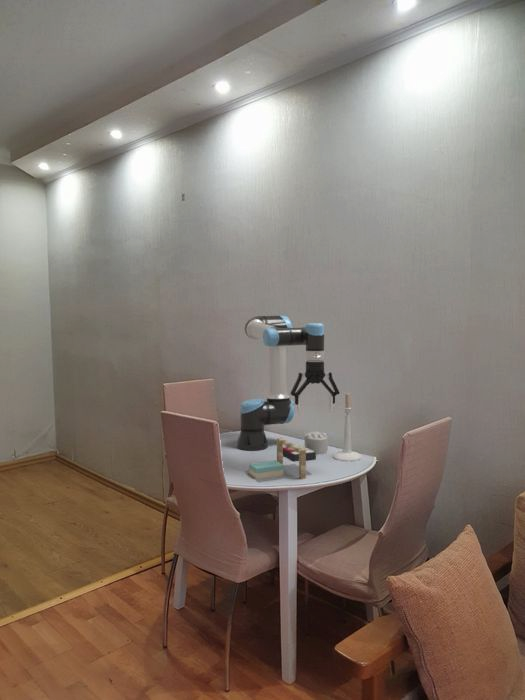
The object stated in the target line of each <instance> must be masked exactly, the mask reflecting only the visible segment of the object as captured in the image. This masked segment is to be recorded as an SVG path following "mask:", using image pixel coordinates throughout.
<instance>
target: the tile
mask: <svg viewBox="0 0 525 700" xmlns="http://www.w3.org/2000/svg"><path fill="white" fill-rule="evenodd" d="M283 465H284V463H283V464H281V463H279V462H278V461H277V460H272V461H262V462H256V463H250V464H249V470H250V474H251V475H252V476H254V477H255V478H256V479H258V478H264V477H271V476H278V475H284V466H283Z"/></svg>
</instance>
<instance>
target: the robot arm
mask: <svg viewBox="0 0 525 700" xmlns="http://www.w3.org/2000/svg"><path fill="white" fill-rule="evenodd" d="M244 333H245V335H246V336H247V337H248V338H249V339H252V340H261V341H262V342H263V344H264V346H266V347H268V373H269V374H268V375H269V376H268V380H269V385H268V386H269V394H268V395H267V397H266V401H265V400H264V399H263V398H251V399H246V400H243V401H242V402H241V404H240V411H239V414H240V433H239V437H238V439H237V442H236V444H237V449H239V450H241V451H242V450H243V451H261V450H265V449H267V448H268V446H269V443H268V442H269V441H268V438H267V437H266V433H265V426H270V425H271V426H272V425H283V424H289V423H291V422H292V421H293V419H294V415H295V405H296V406H297V407H296V408H297V409H296V412H297V413H298V414H300V413H301V396H300V395H301V394H302V392H303V391H304V390H305V389H306V388H307V386H309V385H310V384H312V385H313V384H320V383H321V384H322V386H324V388H325V390H327V391H328V392H329V396H328V397H329V403H328V405H329V412H330V413H333V412H334V407H333V405H334V404H335V403H336V396H337V395H340V390H339V388H338V386H337V385H336V382H335V381H334V379H333V373H332V372H331V371H328V372H325V362H324V360H325V326H324V324H323V323H318V322H317V323H315V322H314V323H313V322H311V323H306V324H305V326H303V327H302V326H301V327H293V325H292V322H291V319H290V318H289V317H288V316H286V315H258V316H253V317H251V318H249V319H248V320H247V321H246V323H245V325H244ZM286 346H305V360H306V362H305V372H304V373H303V372H298V373H297V379H296V380H295V383H294V385H293V386H292V389H291V390H290V392H289V393H290V395H291V396H293V397H294V401H293V400H292V399H291V397H290V395H289V394H288V393H287V389H288V388H287V350H286V349H287V348H286ZM304 377H305V381H304V382H303V383H302V385H301V386H300V383H301V381H302V379H303V378H304ZM325 377H326V378H327V379H328V381H329V382H330V385H331V387H332V388H331V387H330V386H329V385H328V383H326V381H325V380H324V378H325ZM299 386H300V387H299ZM298 387H299V388H298ZM297 389H298V390H297ZM294 404H295V405H294Z"/></svg>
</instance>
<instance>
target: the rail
mask: <svg viewBox="0 0 525 700" xmlns="http://www.w3.org/2000/svg"><path fill="white" fill-rule="evenodd" d="M283 446H284V447H288V448H290V449H292V450H294V451H296V452H297V453H299V461H298V466H299V476H298V478H299V479H300V480H304V479H306V478H307V475H306V471H307V463H306V462H307V461H306V450H304V449H302V448H300V447H298V446H299V445H296V444H294V443H292V442H290V441H287V440H286V439H283V438H282V437H277V438H276V461H278V462H279V463H281V464H283V465H284V456H283Z"/></svg>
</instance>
